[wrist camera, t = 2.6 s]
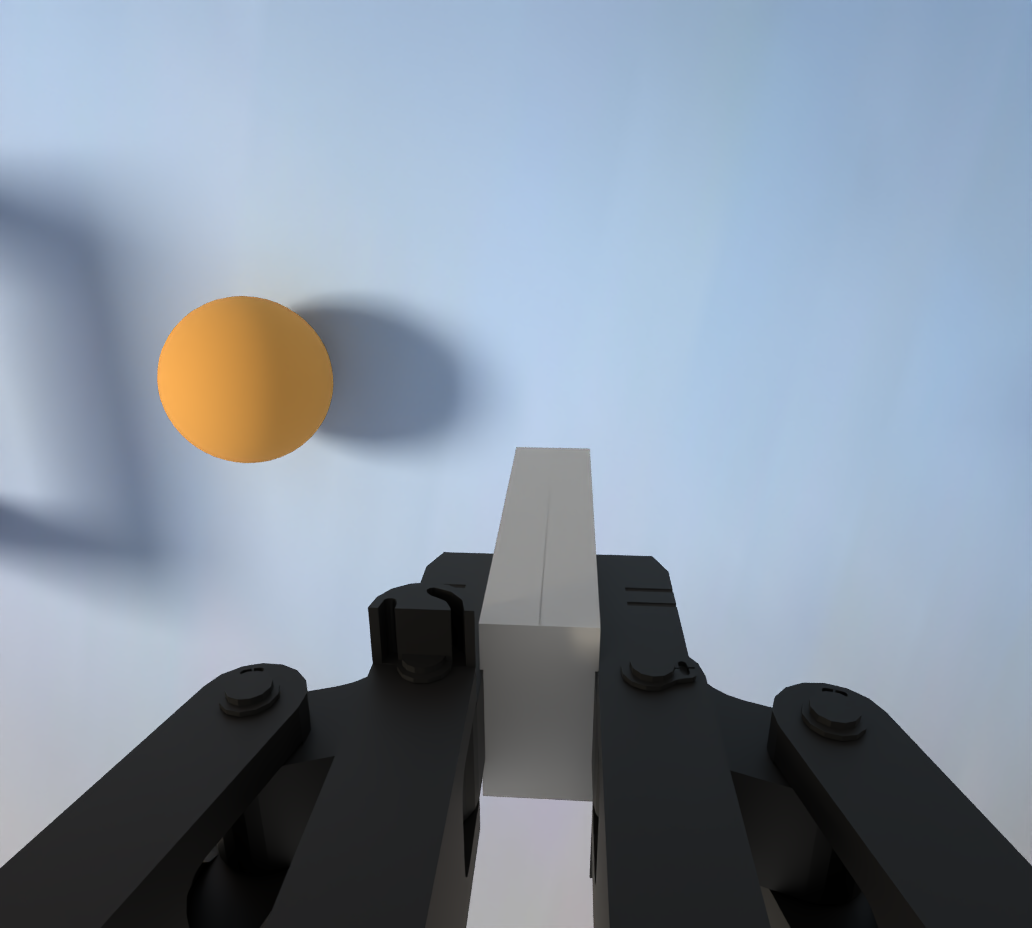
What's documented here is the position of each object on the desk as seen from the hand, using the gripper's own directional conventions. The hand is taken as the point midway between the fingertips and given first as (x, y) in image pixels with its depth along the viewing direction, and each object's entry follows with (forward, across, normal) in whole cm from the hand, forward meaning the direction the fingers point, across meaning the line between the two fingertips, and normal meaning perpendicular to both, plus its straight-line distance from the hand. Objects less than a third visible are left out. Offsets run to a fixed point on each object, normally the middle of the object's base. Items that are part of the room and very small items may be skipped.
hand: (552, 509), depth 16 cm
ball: (+10, -10, 0) cm, 14 cm away
